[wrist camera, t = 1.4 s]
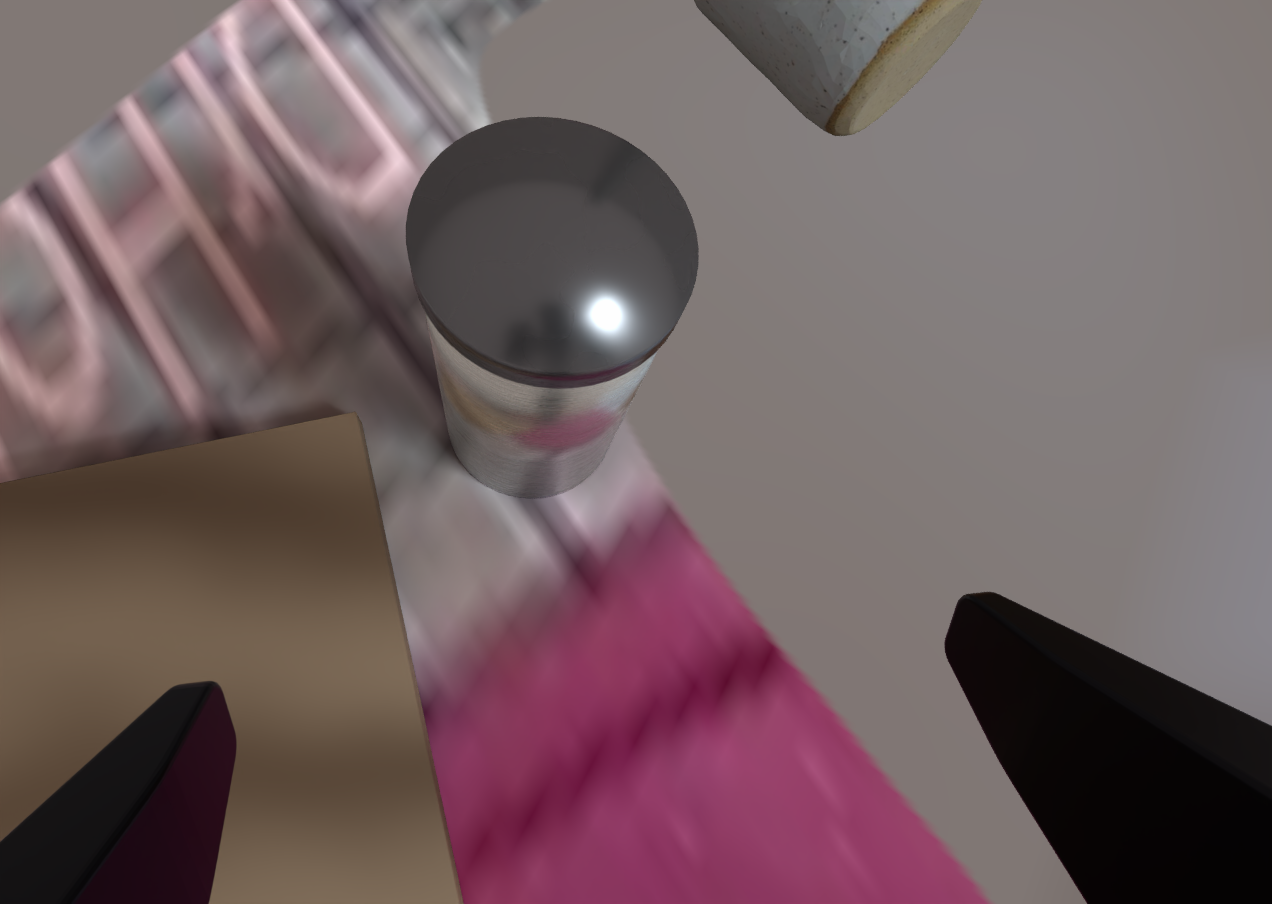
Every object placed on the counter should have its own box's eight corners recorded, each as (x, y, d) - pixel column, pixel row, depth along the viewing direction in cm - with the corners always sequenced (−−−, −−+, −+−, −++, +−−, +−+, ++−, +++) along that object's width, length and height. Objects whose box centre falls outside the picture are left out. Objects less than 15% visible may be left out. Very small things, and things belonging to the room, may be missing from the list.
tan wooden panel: (506, 1104, 17) (507, 1129, 16) (-87, 1381, 14) (-129, 1431, 13) (361, 423, 21) (355, 411, 21) (-120, 522, 18) (-153, 513, 17)
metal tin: (636, 478, 23) (735, 340, 13) (465, 520, 21) (443, 399, 12) (590, 328, 24) (651, 104, 14) (426, 358, 22) (378, 133, 13)
